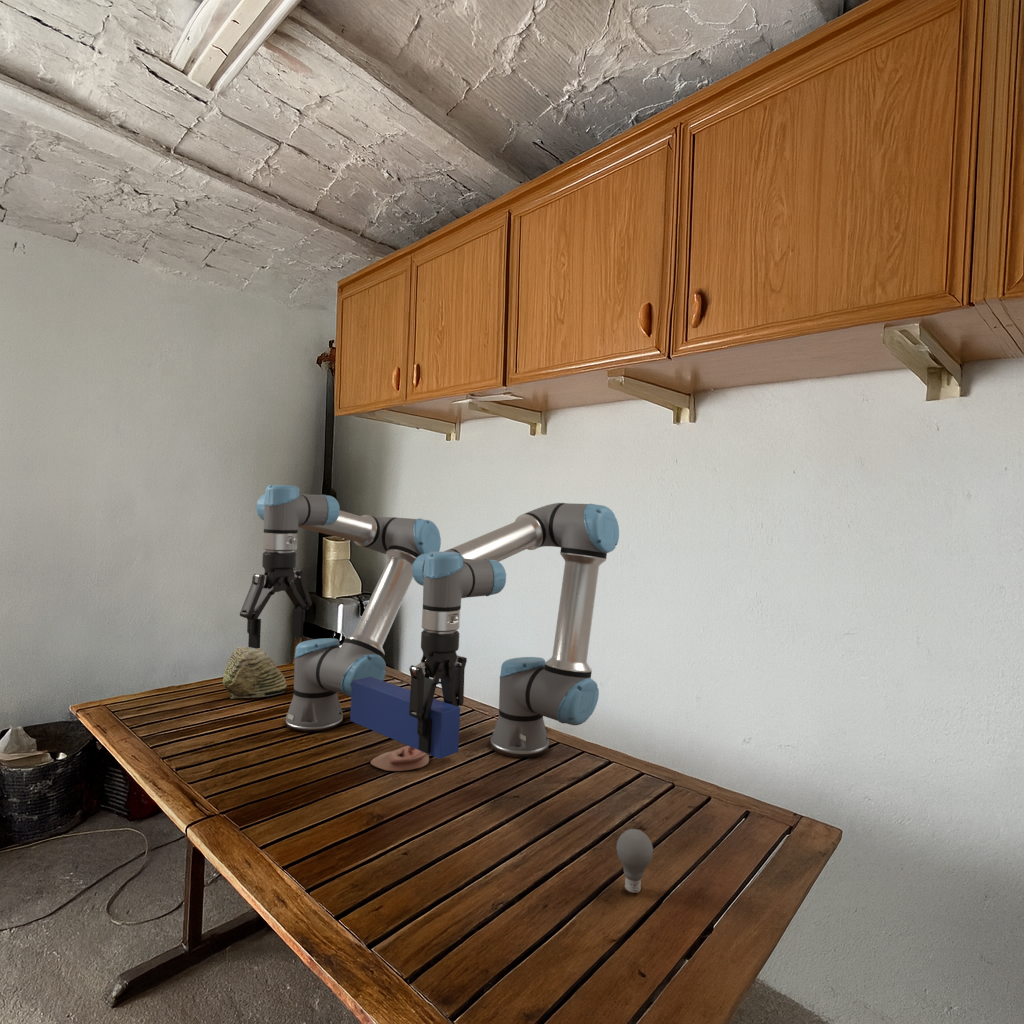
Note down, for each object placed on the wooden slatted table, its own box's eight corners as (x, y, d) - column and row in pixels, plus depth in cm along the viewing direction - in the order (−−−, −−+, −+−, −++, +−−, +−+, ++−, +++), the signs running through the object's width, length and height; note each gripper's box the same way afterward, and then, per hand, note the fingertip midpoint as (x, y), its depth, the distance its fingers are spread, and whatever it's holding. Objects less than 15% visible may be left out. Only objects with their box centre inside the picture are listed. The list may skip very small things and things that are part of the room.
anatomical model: (365, 751, 148) (384, 733, 160) (364, 767, 148) (384, 749, 160) (419, 758, 146) (435, 740, 157) (418, 775, 146) (434, 756, 157)
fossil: (218, 695, 195) (220, 647, 195) (278, 685, 208) (279, 640, 207) (228, 703, 189) (230, 653, 188) (289, 692, 201) (290, 645, 201)
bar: (350, 720, 139) (351, 680, 139) (368, 715, 143) (370, 676, 143) (439, 759, 121) (441, 713, 121) (458, 752, 125) (460, 707, 125)
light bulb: (610, 879, 108) (613, 822, 108) (644, 879, 109) (647, 822, 109) (619, 902, 102) (622, 840, 102) (655, 901, 103) (658, 840, 103)
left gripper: (250, 555, 134) (246, 655, 135) (328, 549, 157) (325, 634, 158) (224, 553, 137) (221, 650, 138) (304, 547, 160) (301, 630, 161)
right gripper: (418, 639, 116) (413, 765, 116) (485, 627, 130) (480, 740, 130) (392, 632, 121) (387, 754, 121) (459, 621, 135) (454, 730, 135)
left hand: (276, 642), depth 148 cm, fingers open, 13 cm apart
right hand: (435, 746), depth 126 cm, fingers closed on bar, 5 cm apart
